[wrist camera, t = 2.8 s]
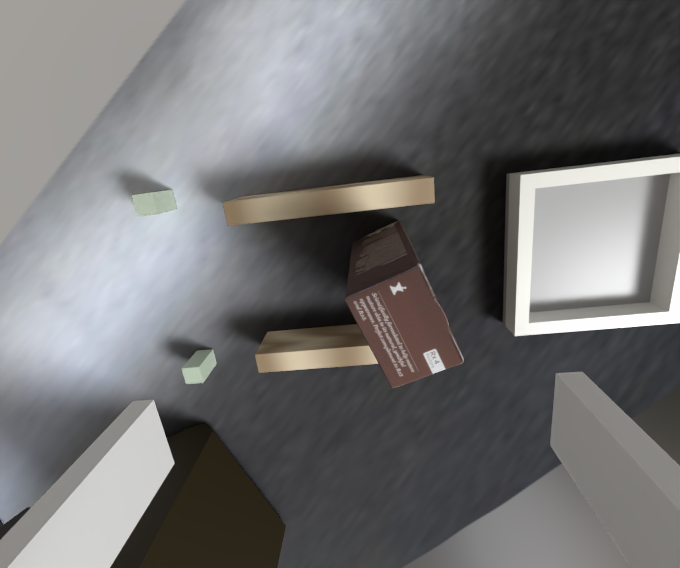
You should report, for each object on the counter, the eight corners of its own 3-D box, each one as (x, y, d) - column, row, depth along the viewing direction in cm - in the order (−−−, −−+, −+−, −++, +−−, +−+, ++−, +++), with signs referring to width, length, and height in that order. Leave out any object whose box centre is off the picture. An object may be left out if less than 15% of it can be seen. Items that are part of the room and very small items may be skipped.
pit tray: (502, 322, 30) (514, 336, 28) (506, 173, 27) (520, 175, 24) (655, 309, 29) (681, 322, 27) (681, 153, 26) (714, 152, 23)
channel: (270, 347, 32) (258, 372, 29) (240, 196, 28) (222, 202, 24) (430, 334, 31) (440, 358, 27) (423, 175, 27) (433, 177, 23)
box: (348, 243, 29) (340, 297, 18) (400, 218, 28) (428, 257, 17) (379, 307, 31) (391, 393, 19) (430, 285, 30) (474, 362, 18)
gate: (200, 364, 33) (186, 383, 30) (154, 191, 28) (131, 195, 26) (216, 363, 33) (203, 382, 30) (172, 189, 28) (151, 192, 25)
